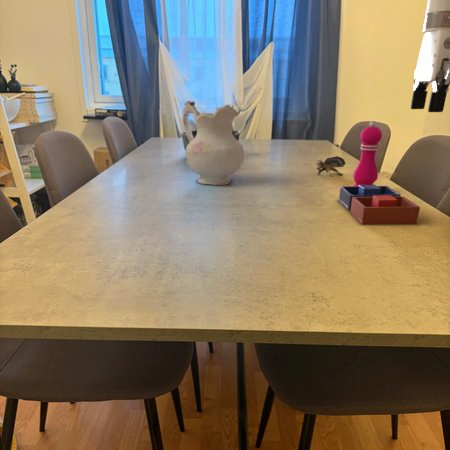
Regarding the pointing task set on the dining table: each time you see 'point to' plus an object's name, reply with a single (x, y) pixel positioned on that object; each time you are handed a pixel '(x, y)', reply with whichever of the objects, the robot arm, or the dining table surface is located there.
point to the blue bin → (352, 191)
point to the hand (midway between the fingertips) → (425, 110)
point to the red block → (384, 201)
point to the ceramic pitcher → (213, 144)
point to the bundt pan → (194, 133)
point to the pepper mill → (368, 156)
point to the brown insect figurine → (330, 164)
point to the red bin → (384, 211)
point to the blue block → (369, 190)
